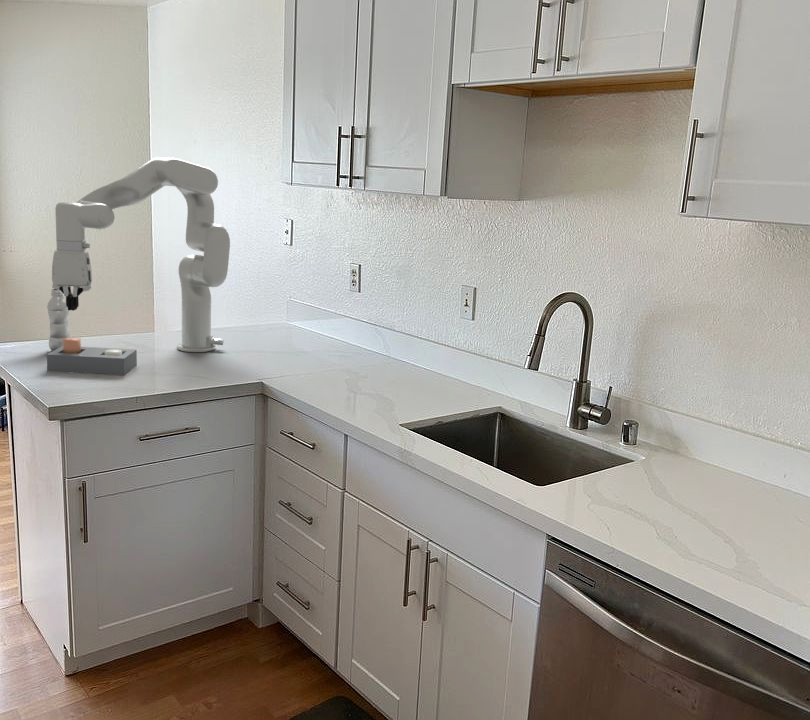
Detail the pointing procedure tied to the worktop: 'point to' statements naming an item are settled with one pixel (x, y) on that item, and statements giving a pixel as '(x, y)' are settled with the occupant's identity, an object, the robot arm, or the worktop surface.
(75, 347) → the terracotta button
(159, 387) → the worktop surface
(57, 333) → the plastic bottle
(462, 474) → the worktop surface
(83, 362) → the grey two-hole block
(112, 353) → the ivory button
